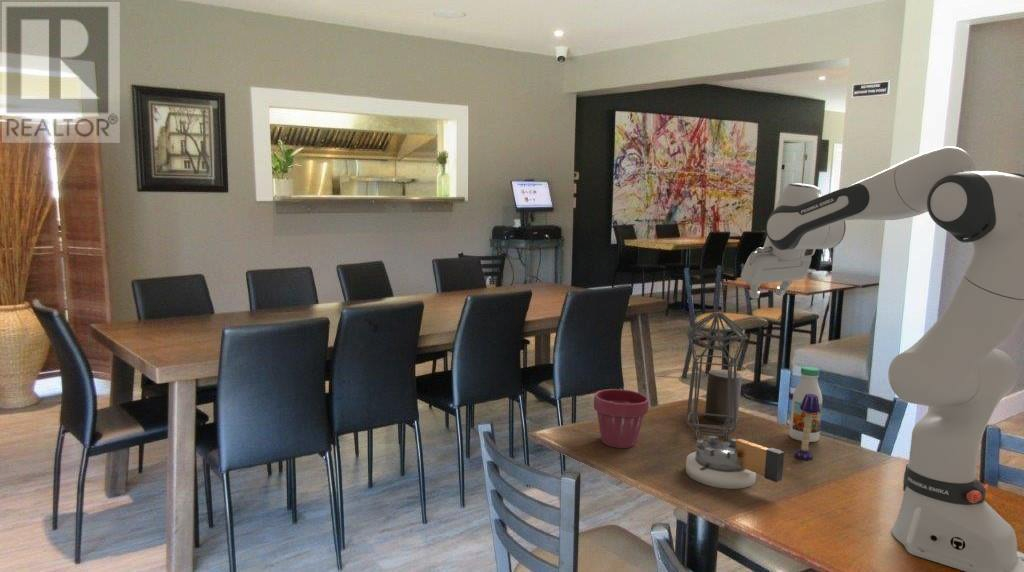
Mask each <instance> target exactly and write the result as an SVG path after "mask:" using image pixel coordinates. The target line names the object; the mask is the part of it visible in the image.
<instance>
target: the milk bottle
mask: <svg viewBox="0 0 1024 572" xmlns="http://www.w3.org/2000/svg"><path fill="white" fill-rule="evenodd" d="M800 368H801V369H800V376H801V378H800V379H799V383H798V384H797V385H796V388H795V389H794V391H793V395H792V400H791V401H792V402H791V411H790V422H789V437H790V438H792V439H794V440H796V441H799V442H802V439H803V437H802V436H803V433H804V432H803V429H804V422H805V416H806V414H805V411H803V410H801V409H800V406H801V403H802V401H803V398H804V396H805V395H806V394H814V395H817V396H818V401H819V408H820V411H819V412H818V413H813V415H812V422H811V428H810V429H811V432H810V438H809V443H815V442H818V441H819V440H820V434H821V433H820V432H821V423H822V411H823V395H822V391H821V388H820V385H819V381H818V378H819V375H820V369H819V368H817V367H814V366H802V367H800Z"/></svg>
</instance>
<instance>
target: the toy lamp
mask: <svg viewBox="0 0 1024 572" xmlns="http://www.w3.org/2000/svg"><path fill="white" fill-rule="evenodd" d="M800 409H801V410H803V411H805V414H806V416H805V422H804V429H803V432H804V433H803V436H802V437H803V439H802V441H801V445H800V449H798V450H796V452H795V453H794V458H795V457H796V458H797V459H799V460H802V459H803V460H804V461H810V460H811V459H812V460H813V458H814V457H813V454H812V453H811V452H810V451H809V444H810V442H809V438H810V432H811V429H810V428H811V422H812V415H813V413H818V412H819V411H820V408H819V401H818V396H817V395H814V394H806V395H805V396H804V398H803V401H802V403H801V406H800Z"/></svg>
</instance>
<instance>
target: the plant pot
mask: <svg viewBox="0 0 1024 572" xmlns="http://www.w3.org/2000/svg"><path fill="white" fill-rule="evenodd" d="M593 409H594V410H595V412H596V413H597V421H598V428H599V432H600V438H601V439H600V440H601V443H603V444H604V445H606V446H609V447H612V448H618V449H627V448H632V447H634V446H635V445H636V444H637V440H638V437H639V434H640V431H641V427H642V423H643V420H644V417H645V416H646V415H647V413H649V412H648V411H649V398H648V396H646V395H645V394H643V393H640V392H638V391H633V390H630V389H629V390H628V389H620V388H610V389H602V390H597V391H596V392H595V393H594V396H593Z"/></svg>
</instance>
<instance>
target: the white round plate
mask: <svg viewBox="0 0 1024 572" xmlns="http://www.w3.org/2000/svg"><path fill="white" fill-rule="evenodd" d="M695 455H696V451H694V452H691V453H689V454H688V455H687V456H686V462H685V463H686V464H685V473H686V475H687V476H688V477H689V478H691V479H692V480H694V481H696V482H698V483H700V484H703V485H706V486H709V487H713V488H719V489H727V490H728V489H731V490H734V489H735V490H738V489H745V488H749V487H751V486H753V485H754V484H755V483H756V479H757V473H755V472H752V471H750V470H747V469H745V470H742V471H737V472H724V471H717V470H712V469H709V468H706V467H704V466H702V465H700V464H699V463H697V462H696V460H695Z"/></svg>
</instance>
